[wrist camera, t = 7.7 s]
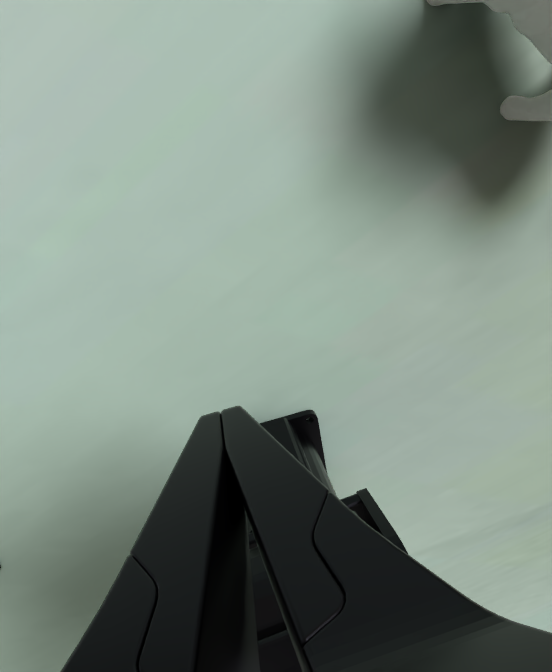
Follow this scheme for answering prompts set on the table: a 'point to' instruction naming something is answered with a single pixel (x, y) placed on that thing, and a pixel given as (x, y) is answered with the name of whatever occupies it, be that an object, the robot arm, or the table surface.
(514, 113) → the dog figurine
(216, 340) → the table surface
